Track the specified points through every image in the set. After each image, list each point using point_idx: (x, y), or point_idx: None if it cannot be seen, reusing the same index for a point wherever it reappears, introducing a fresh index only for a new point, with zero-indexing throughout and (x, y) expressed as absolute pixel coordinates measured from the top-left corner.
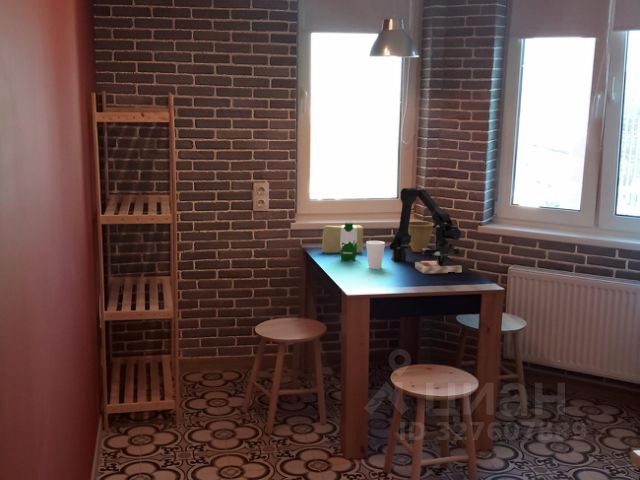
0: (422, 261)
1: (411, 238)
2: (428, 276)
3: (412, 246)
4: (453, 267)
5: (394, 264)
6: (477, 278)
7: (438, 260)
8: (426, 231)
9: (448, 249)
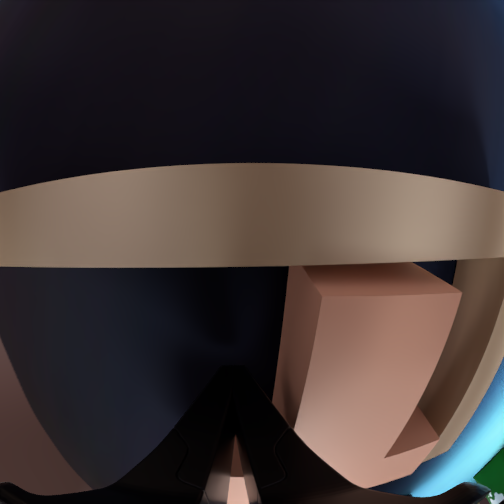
0: (408, 468)
1: None
2: (470, 57)
3: None
4: (42, 185)
5: (449, 457)
6: None
7: (307, 452)
8: None
9: None
